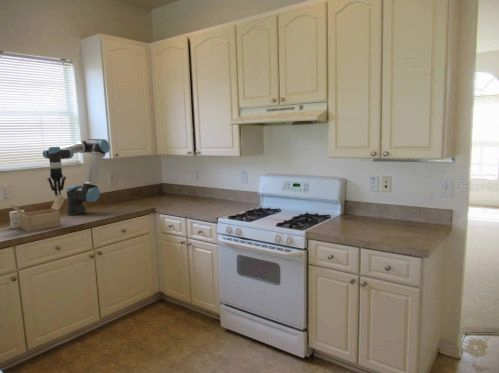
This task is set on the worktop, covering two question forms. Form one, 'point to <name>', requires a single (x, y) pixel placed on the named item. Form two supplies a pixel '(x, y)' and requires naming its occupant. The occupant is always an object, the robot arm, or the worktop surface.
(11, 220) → the ink box
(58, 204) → the flap
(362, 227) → the worktop surface
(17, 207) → the flap
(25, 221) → the carton
